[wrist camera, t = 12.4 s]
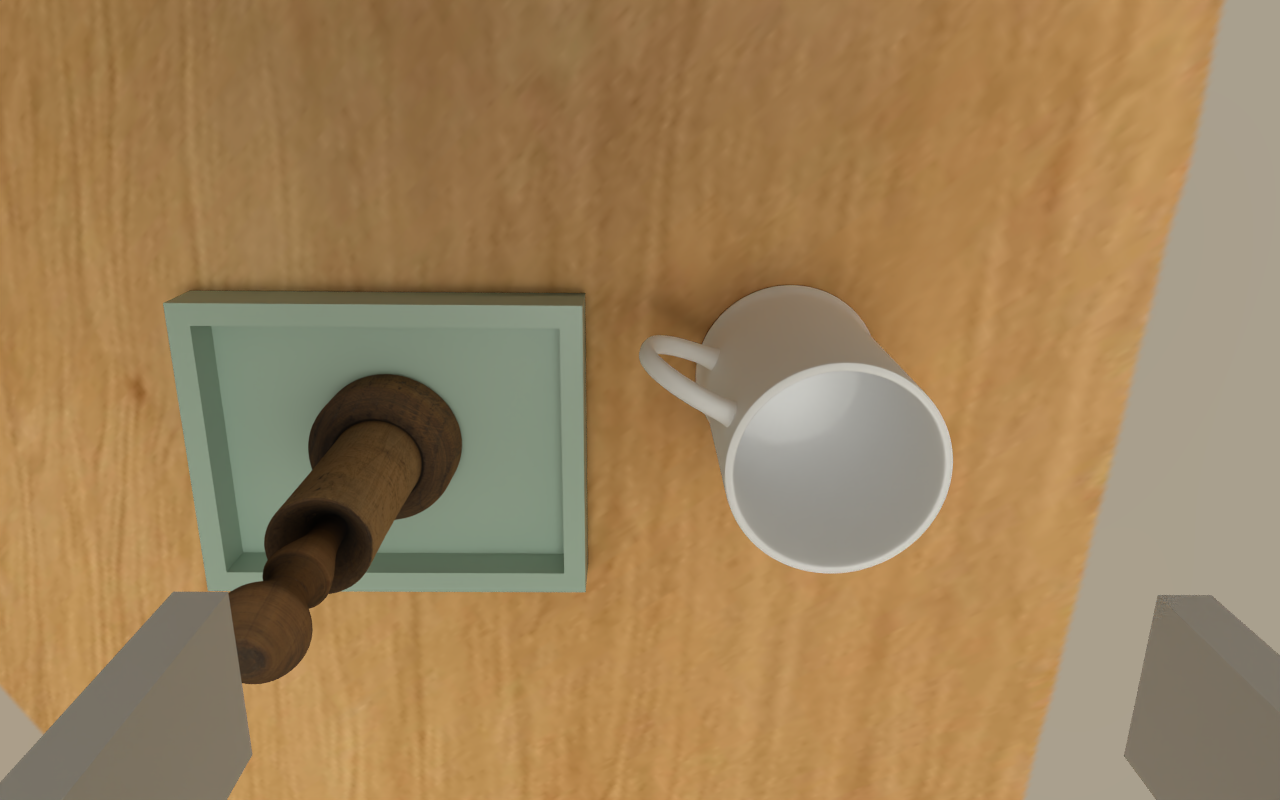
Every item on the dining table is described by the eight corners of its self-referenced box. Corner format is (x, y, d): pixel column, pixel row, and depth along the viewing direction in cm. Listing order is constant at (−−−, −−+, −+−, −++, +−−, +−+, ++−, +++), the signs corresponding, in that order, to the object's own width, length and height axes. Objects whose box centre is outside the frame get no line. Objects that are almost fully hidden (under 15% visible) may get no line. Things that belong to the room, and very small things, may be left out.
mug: (602, 374, 44) (592, 474, 33) (694, 214, 42) (717, 262, 30) (812, 486, 46) (872, 617, 35) (911, 340, 44) (1010, 429, 32)
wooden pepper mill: (472, 389, 44) (369, 584, 26) (451, 512, 46) (343, 768, 28) (330, 360, 43) (131, 540, 26) (315, 486, 45) (121, 730, 28)
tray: (190, 290, 43) (163, 303, 40) (585, 293, 43) (582, 305, 40) (230, 564, 47) (208, 590, 45) (587, 565, 47) (585, 592, 45)
